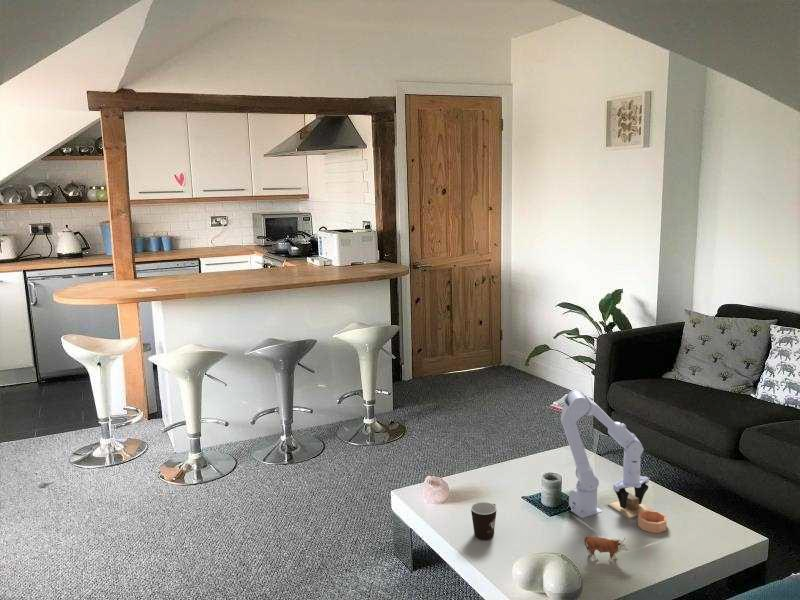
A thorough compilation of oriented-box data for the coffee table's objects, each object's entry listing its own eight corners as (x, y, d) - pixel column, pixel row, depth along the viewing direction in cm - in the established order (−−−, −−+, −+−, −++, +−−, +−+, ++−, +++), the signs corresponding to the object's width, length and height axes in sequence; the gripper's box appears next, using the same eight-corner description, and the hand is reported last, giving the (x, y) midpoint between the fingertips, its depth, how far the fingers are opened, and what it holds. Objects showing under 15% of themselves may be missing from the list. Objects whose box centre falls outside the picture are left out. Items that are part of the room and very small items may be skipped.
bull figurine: (628, 567, 207) (628, 543, 205) (583, 559, 212) (583, 535, 211) (629, 560, 211) (630, 536, 209) (585, 552, 216) (585, 528, 215)
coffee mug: (480, 544, 222) (480, 516, 220) (466, 533, 230) (465, 506, 228) (509, 535, 227) (509, 507, 226) (494, 524, 235) (494, 497, 233)
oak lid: (629, 519, 235) (629, 506, 234) (607, 505, 244) (608, 493, 244) (653, 512, 239) (654, 499, 238) (631, 499, 249) (631, 487, 248)
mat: (629, 522, 233) (629, 521, 233) (603, 506, 245) (603, 505, 245) (657, 513, 238) (657, 512, 238) (631, 498, 250) (631, 497, 250)
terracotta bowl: (651, 536, 224) (652, 525, 223) (632, 524, 232) (632, 513, 231) (672, 530, 227) (672, 519, 227) (652, 518, 235) (652, 508, 235)
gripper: (623, 478, 232) (622, 514, 235) (655, 469, 238) (654, 505, 241) (609, 470, 239) (608, 506, 241) (641, 462, 245) (640, 497, 247)
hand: (630, 505), depth 241 cm, fingers open, 6 cm apart
